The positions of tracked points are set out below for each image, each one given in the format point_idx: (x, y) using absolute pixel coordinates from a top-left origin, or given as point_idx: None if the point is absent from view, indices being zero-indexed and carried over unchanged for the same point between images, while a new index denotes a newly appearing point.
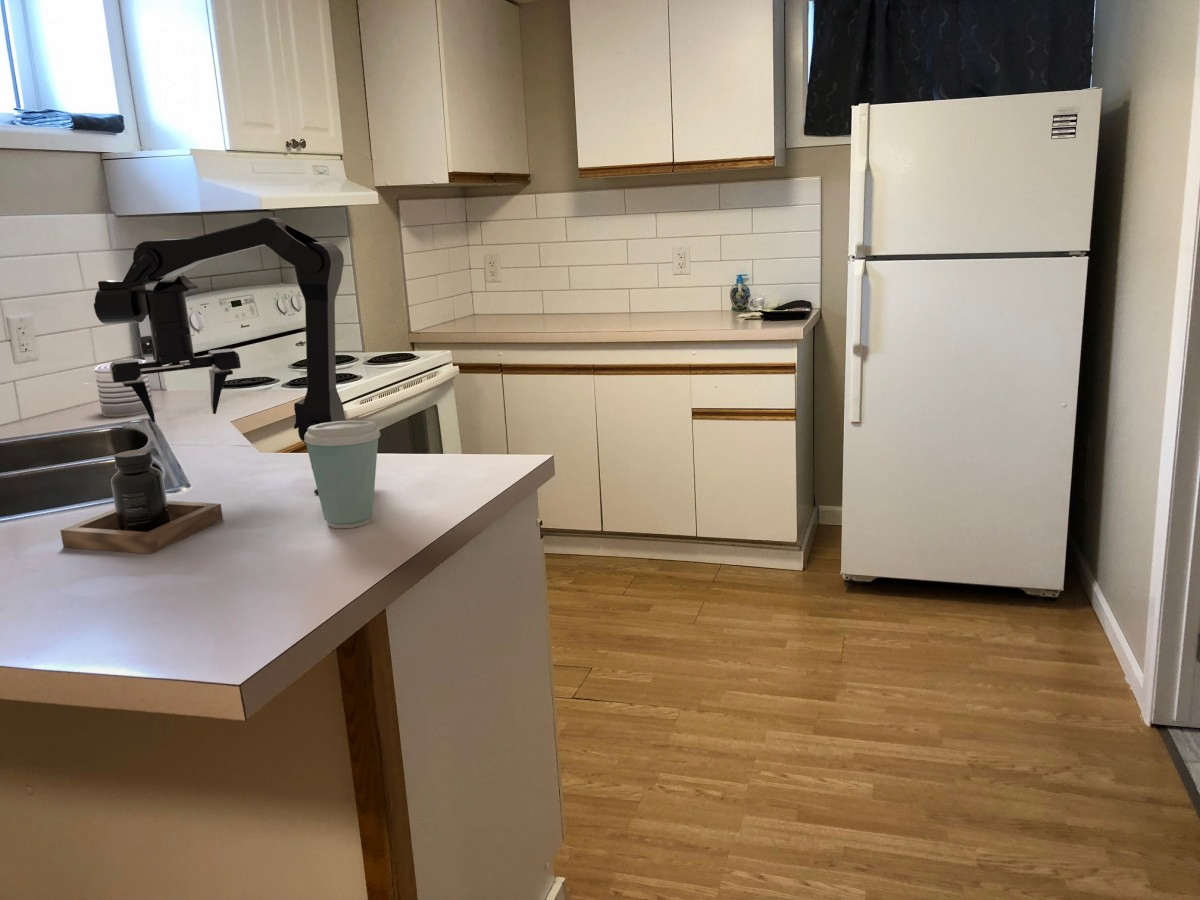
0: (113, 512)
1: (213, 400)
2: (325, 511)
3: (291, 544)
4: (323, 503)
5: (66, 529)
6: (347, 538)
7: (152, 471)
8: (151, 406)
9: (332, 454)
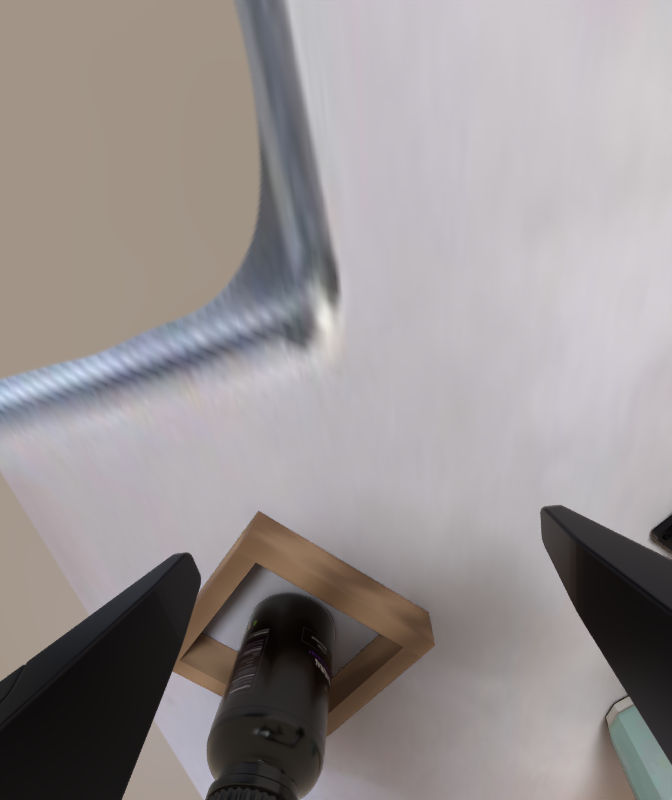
0: (218, 607)
1: (618, 673)
2: (621, 762)
3: (526, 756)
4: (631, 785)
5: None
6: (614, 768)
7: (303, 796)
8: (151, 722)
9: None
